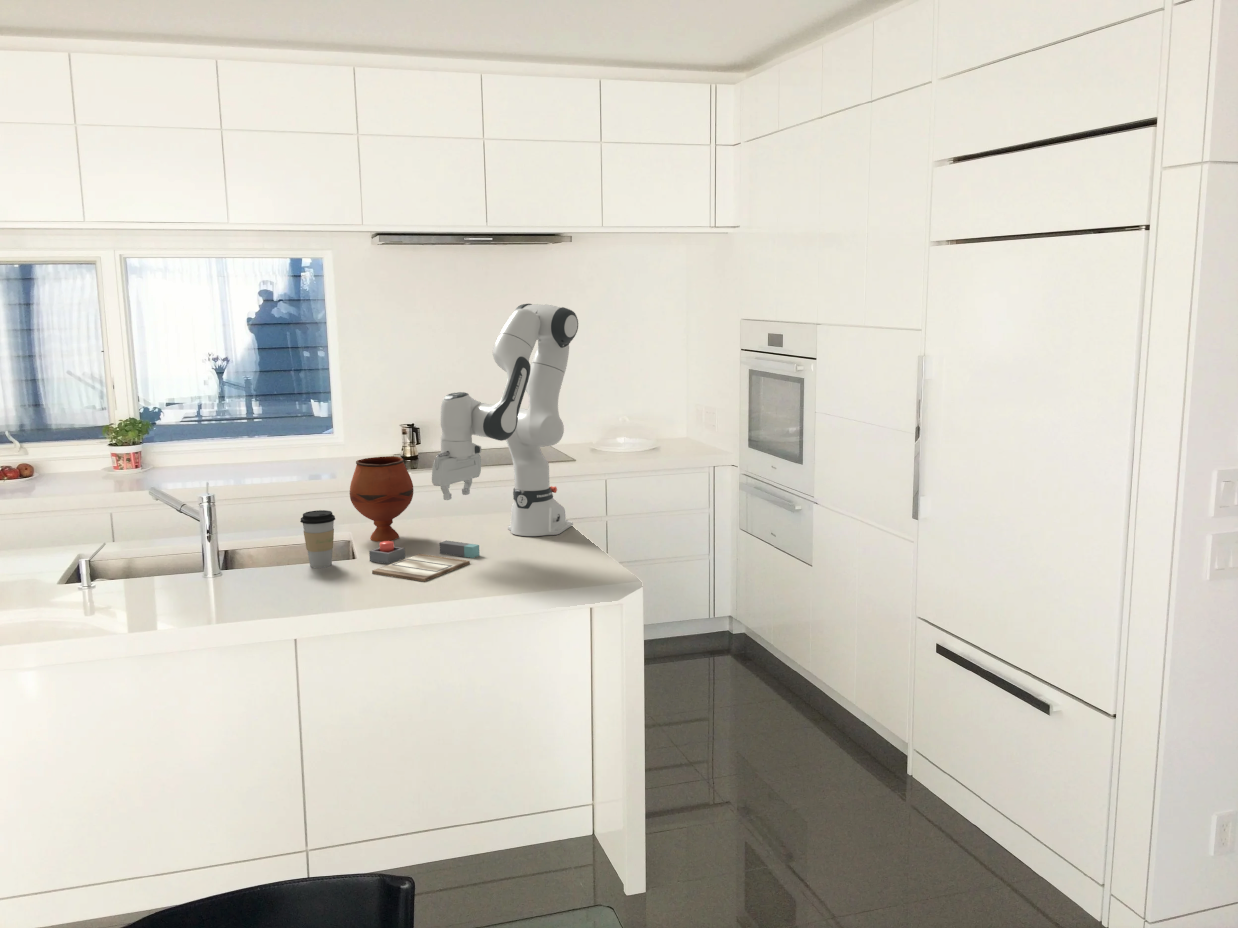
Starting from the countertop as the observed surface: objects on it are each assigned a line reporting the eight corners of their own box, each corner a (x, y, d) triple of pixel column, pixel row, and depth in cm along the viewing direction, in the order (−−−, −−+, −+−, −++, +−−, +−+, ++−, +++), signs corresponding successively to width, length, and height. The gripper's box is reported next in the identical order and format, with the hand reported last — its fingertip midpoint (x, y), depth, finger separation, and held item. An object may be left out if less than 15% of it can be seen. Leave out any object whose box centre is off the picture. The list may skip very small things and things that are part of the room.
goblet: (341, 544, 307) (336, 464, 302) (370, 530, 325) (365, 453, 321) (399, 547, 302) (395, 465, 298) (425, 532, 321) (421, 455, 317)
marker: (439, 553, 295) (439, 542, 295) (446, 550, 298) (446, 540, 298) (472, 558, 290) (472, 547, 289) (479, 555, 292) (479, 544, 292)
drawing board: (419, 556, 292) (419, 553, 292) (469, 563, 284) (469, 560, 283) (372, 573, 275) (372, 570, 275) (424, 581, 266) (423, 578, 266)
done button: (386, 549, 291) (386, 540, 291) (397, 550, 289) (396, 541, 289) (376, 552, 288) (376, 543, 287) (387, 553, 286) (387, 545, 285)
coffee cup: (325, 570, 278) (321, 517, 275) (296, 568, 281) (292, 515, 278) (344, 562, 287) (341, 510, 284) (316, 559, 290) (313, 508, 287)
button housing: (386, 555, 294) (385, 545, 293) (405, 558, 290) (404, 548, 290) (369, 561, 287) (369, 550, 287) (388, 563, 284) (388, 553, 284)
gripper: (444, 454, 278) (445, 504, 280) (484, 446, 296) (484, 492, 298) (425, 453, 280) (426, 501, 282) (466, 444, 299) (466, 490, 301)
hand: (456, 497), depth 290 cm, fingers open, 8 cm apart
